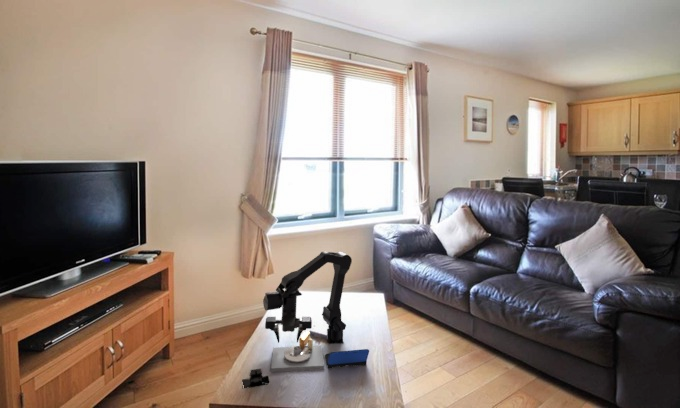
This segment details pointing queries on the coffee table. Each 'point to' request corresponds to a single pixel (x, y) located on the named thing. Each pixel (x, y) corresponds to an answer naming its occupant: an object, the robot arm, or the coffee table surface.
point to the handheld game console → (346, 358)
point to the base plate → (311, 364)
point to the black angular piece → (255, 379)
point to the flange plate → (297, 357)
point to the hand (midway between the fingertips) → (288, 342)
